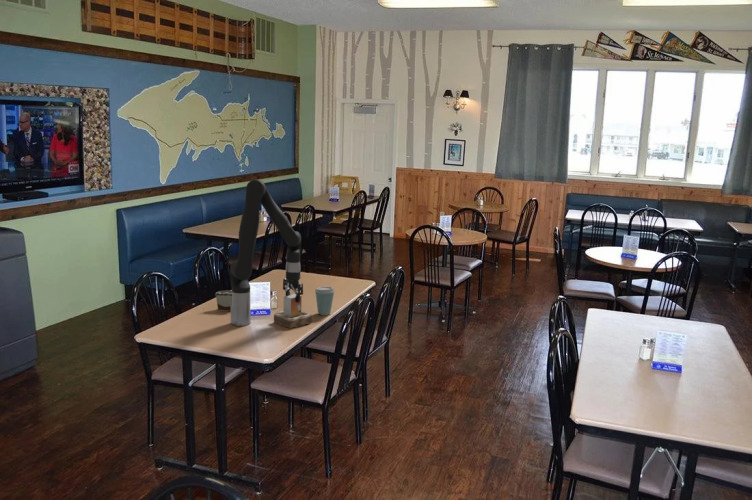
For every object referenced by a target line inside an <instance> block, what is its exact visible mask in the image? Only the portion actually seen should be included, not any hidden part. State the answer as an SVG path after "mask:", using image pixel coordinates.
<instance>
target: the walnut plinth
mask: <svg viewBox="0 0 752 500" xmlns="http://www.w3.org/2000/svg"><path fill="white" fill-rule="evenodd" d="M274 322H275V324H277V323H278V324H277V325H279V324H280V325H279V326H282V325H283V326H282V327H284V326H286V327H285V328H287V327H288V328H287V329H289V328H292V329H294V328H293V327H296V328H298V327H297V326H300V327H302V326H301V325H304V326H306V325H305V324H308V325H311V324H310V323H313V321H312V313H309V312H306V311H303V310H301V315H299V316H295V317H292V318H290V317H286V316H283V310H282V311H277V312H275V313H274V315H273V323H274Z"/></svg>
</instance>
